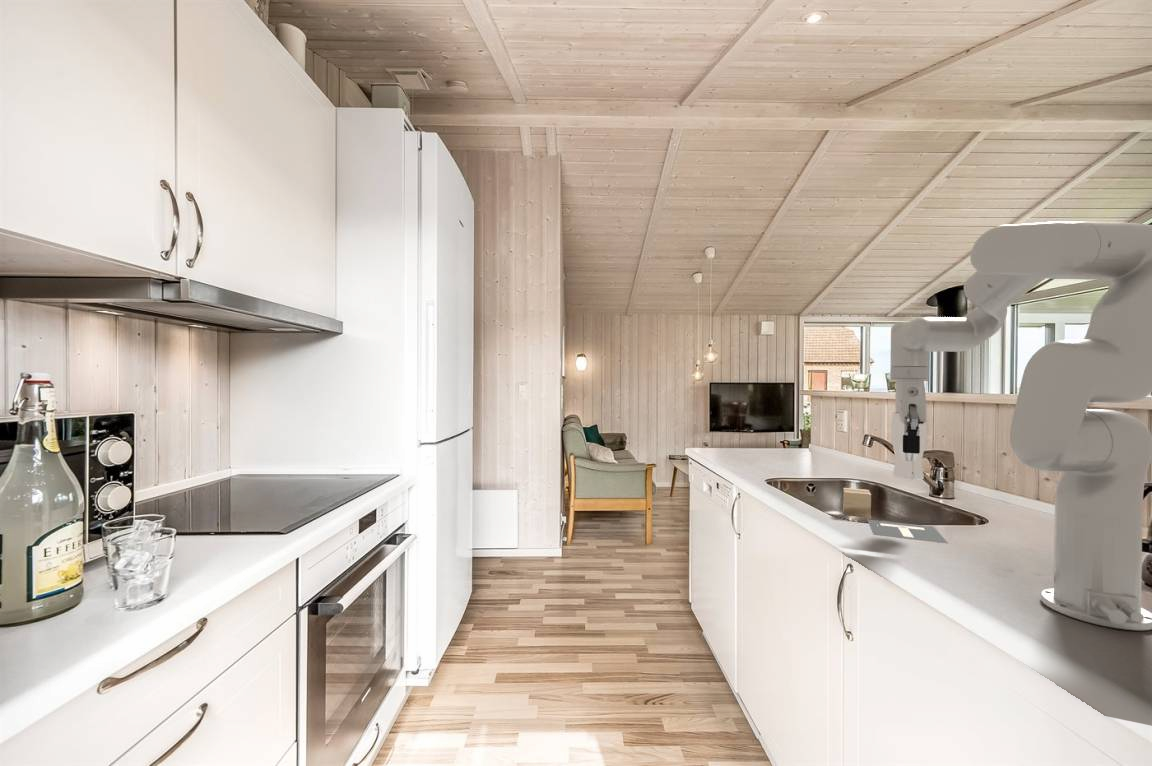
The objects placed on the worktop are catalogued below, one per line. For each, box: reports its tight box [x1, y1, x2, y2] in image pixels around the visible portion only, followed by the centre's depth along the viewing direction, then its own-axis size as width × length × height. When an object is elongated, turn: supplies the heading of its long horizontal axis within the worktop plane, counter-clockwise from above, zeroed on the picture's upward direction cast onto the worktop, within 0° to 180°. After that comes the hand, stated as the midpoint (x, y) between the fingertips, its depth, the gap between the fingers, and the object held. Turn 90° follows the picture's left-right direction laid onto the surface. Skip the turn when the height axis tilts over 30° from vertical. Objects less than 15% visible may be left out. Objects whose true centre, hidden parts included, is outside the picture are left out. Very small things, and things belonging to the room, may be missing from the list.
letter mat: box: [867, 519, 949, 544], centre depth 119 cm, size 14×14×1 cm
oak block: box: [842, 487, 872, 519], centre depth 134 cm, size 6×6×7 cm
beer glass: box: [890, 411, 928, 480], centre depth 119 cm, size 7×7×15 cm
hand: (908, 450), depth 119 cm, fingers closed on beer glass, 6 cm apart
